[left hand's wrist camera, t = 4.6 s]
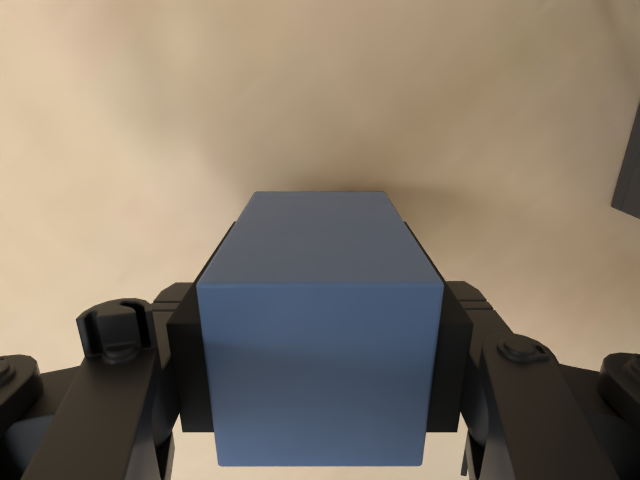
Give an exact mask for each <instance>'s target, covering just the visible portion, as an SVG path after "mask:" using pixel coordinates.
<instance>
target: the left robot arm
mask: <svg viewBox="0 0 640 480" xmlns="http://www.w3.org/2000/svg"><path fill="white" fill-rule="evenodd" d="M235 223H236V222H234V223H233V224H232V226H231V227H230V229H229V230H228V232H227V233H226V235H225V236H224V238H223V239H222V241H221V242H220V244H219V245H218V246H217V248H216V249H215V251H214V252H213V254H212V255H211V257H210V258H209V260H208V261H207V263H206V264H205V266H204V267H203V269H202V270H201V272H200V273H199V275H198V276H197V278H196V279H195V281H194V282H193V283H174V284H173V285H171V286H169V287H168V288H166V289H164V290H163V291H161V292H160V294H159V295H158V296H157V297H156V299H155V300H154V301H153V303H152V304H150V303H148V302H147V301H146V300H141V299H137V298H122V299H117V300H111V301H107V302H104V303H101V304H98V305H95V306H93V307H91V308H90V309H88V310H86V311H84V312H83V313H82V314H81V315H80V316H79V317H78V318H77V319H76V322H77V326H78V330H79V334H80V338H81V342H82V347H83V351H84V355H85V358H84V359H83V361H82V363H81V365H80V366H77V367H73V368H68V369H63V370H57V371H52V372H47V373H42V374H40V371H39V368H38V364H37V361H36V360H35V359H33V358H32V357H31V356H26V355H20V354H19V355H9V356H1V357H0V480H171V472H172V465H173V458H174V450H175V446H174V438H173V432H172V429H173V426H174V424H175V422H176V420H177V417H178V415H179V413H180V419H181V425H182V431H183V432H214V426H213V418H212V410H211V402H210V394H209V385H208V377H207V369H206V361H205V353H204V344H203V336H202V328H201V320H200V312H199V303H198V295H197V287H196V285H197V283H198V281H199V279H200V278H201V276H202V275H203V273H204V272H205V270H206V268H207V267H208V265H209V264H210V262H211V261H212V259H213V257H214V256H215V254H216V253H217V251H218V250H219V248H220V246H221V245H222V243H223V242H224V240H225V239H226V237H227V235H228V234H229V232H230V231H231V229H232V227H233V226H234V224H235ZM404 223H405V225H406V226H407V228H408V229H409V231H410V232H411V234H412V235H413V237H414V239H415V240H416V242H417V243H418V245H419V246H420V248H421V249H422V251H423V253H424V254H425V256H426V257H427V259H428V260H429V262H430V263H431V265H432V266H433V268H434V270H435V271H436V273H437V274H438V276H439V277H440V279H441V280H442V282H443V285H444V289H443V297H442V305H441V314H440V322H439V330H438V338H437V346H436V354H435V363H434V371H433V379H432V387H431V395H430V403H429V411H428V420H427V428H426V432H457V429H458V423H459V416H460V411H461V414H462V416H463V418H464V420H465V423H466V425H467V427H468V432H467V438H466V444H465V450H464V456H463V462H462V469H461V475H463V476H466V475H467V469H468V472H469V479H470V480H640V354H631V353H614V354H609V355H608V356H607V357H606V358H604V360H603V363H602V366H601V370H600V372H597V371H592V370H587V369H582V368H577V367H571V366H567V365H563V364H559V363H558V361H557V359H556V357H555V355H554V354H553V353H552V352H551V351H550V350H549V348H547V347H546V346H544V345H543V344H541V343H540V342H538V341H536V340H534V339H531V338H529V337H526V336H523V335H519V334H514V333H513V332H512V331H511V330H510V328H509V327H508V326H507V325H506V323H505V322H504V321H503V320H502V318H501V317H500V316H499V315H498V313H497V312H496V311H495V310H493V307H492V306H491V305H490V304H489V302H487V301H486V299H485V297H484V296H483V295H482V294H481V292H480V291H479V290H478V289H476V288H475V287H473V286H471V285H470V284H468V283H466V282H465V281H445V280H444V278H443V277H442V275H441V274H440V272H439V271H438V269H437V268H436V266H435V265H434V263H433V262H432V260H431V259H430V257H429V256H428V255H427V253H426V252H425V250H424V249H423V247H422V246H421V244H420V243H419V241H418V240H417V238H416V237H415V235H414V234H413V232H412V231H411V229H410V228H409V226H408V225H407V223H406V222H404Z"/></svg>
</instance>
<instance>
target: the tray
mask: <svg viewBox="0 0 640 480" xmlns="http://www.w3.org/2000/svg"><path fill="white" fill-rule="evenodd" d="M611 207H613V208H615V209H618V210H620V211H622V212H625V213H627V214H630V215H632V216H634V217H637V218H639V219H640V104H639V108H638V111H637V115H636V119H635V122H634V126H633V129H632V133H631V136H630V140H629V144H628V147H627V151H626V154H625V158H624V162H623V165H622V169H621V172H620V176H619V180H618V183H617V187H616V190H615V194H614V197H613V201H612V205H611Z"/></svg>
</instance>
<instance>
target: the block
mask: <svg viewBox="0 0 640 480" xmlns="http://www.w3.org/2000/svg"><path fill="white" fill-rule="evenodd" d="M196 287H197V295H198V303H199V312H200V320H201V328H202V336H203V344H204V353H205V361H206V369H207V377H208V385H209V394H210V402H211V410H212V418H213V426H214V435H215V443H216V451H217V459H218V464H219V466H420V465H421V464H422V460H423V452H424V444H425V436H426V428H427V420H428V411H429V403H430V395H431V387H432V379H433V371H434V363H435V354H436V346H437V338H438V330H439V322H440V314H441V305H442V297H443V289H444V285H443V282H442V280H441V279H440V277H439V276H438V274H437V273H436V271H435V270H434V268H433V266H432V265H431V263H430V262H429V260H428V259H427V257H426V256H425V254H424V253H423V251H422V249H421V248H420V246H419V245H418V243H417V242H416V240H415V239H414V237H413V235H412V234H411V232H410V231H409V229H408V228H407V226H406V225H405V223H404V221H403V220H402V218H401V217H400V215H399V214H398V212H397V211H396V209H395V207H394V206H393V204H392V203H391V201H390V200H389V198H388V197H387V195H386V194H385V192H255V193H254V194H253V196H252V198H251V199H250V201H249V202H248V204H247V205H246V207H245V209H244V210H243V212H242V213H241V215H240V216H239V218H238V220H237V221H236V223H235V224H234V226H233V227H232V229H231V231H230V232H229V234H228V235H227V237H226V239H225V240H224V242H223V243H222V245H221V246H220V248H219V250H218V251H217V253H216V254H215V256H214V257H213V259H212V261H211V262H210V264H209V265H208V267H207V268H206V270H205V272H204V273H203V275H202V276H201V278H200V279H199V281H198V283H197V285H196Z"/></svg>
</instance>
